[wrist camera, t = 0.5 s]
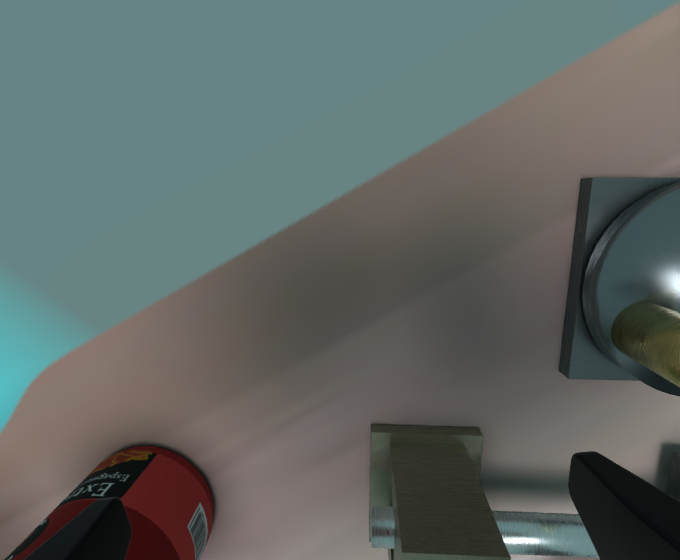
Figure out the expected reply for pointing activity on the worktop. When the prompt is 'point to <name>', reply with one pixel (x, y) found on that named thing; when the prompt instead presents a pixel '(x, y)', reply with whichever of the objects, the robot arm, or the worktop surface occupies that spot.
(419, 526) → the grey-green hollow piece
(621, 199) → the wheel base
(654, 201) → the handwheel
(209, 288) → the worktop surface
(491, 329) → the worktop surface
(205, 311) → the worktop surface
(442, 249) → the worktop surface
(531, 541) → the block-headed metal hammer
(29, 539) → the canned food
